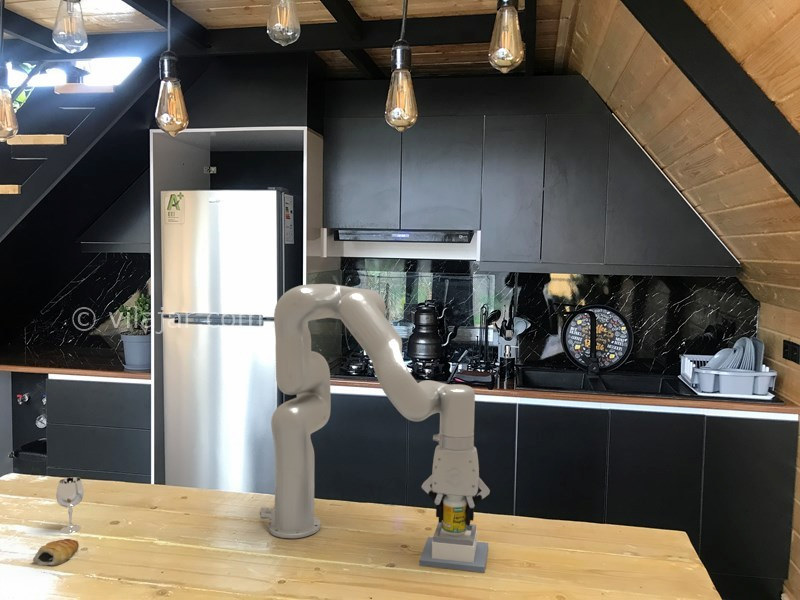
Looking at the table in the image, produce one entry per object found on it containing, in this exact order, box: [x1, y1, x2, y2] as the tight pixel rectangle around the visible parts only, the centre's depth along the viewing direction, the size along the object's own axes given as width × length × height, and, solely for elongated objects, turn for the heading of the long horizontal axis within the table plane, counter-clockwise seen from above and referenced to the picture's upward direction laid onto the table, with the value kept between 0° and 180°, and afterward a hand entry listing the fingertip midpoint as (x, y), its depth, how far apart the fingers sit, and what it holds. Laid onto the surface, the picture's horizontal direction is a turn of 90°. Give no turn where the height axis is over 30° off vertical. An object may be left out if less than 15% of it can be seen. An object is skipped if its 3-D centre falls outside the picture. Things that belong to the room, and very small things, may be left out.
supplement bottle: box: [442, 495, 468, 536], centre depth 139 cm, size 5×5×10 cm
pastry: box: [32, 538, 80, 566], centre depth 138 cm, size 9×7×4 cm
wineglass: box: [56, 476, 84, 534], centre depth 151 cm, size 6×6×12 cm
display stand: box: [418, 520, 489, 574], centre depth 140 cm, size 14×12×6 cm
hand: (454, 521), depth 139 cm, fingers open, 5 cm apart
